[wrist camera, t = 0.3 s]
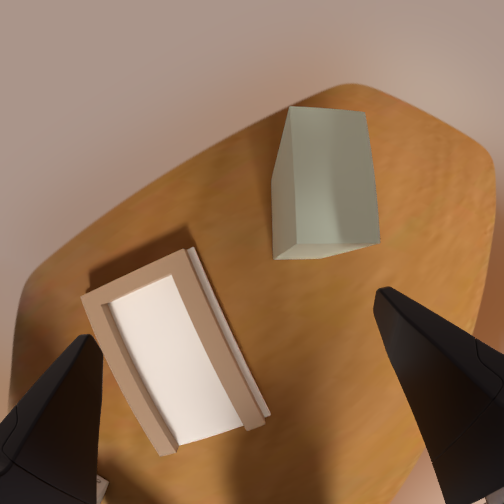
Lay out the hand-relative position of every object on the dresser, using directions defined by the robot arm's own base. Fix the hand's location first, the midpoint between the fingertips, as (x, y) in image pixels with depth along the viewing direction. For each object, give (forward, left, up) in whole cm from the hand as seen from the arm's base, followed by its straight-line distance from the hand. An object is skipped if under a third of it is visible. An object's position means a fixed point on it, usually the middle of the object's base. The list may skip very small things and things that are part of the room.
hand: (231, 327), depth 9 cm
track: (0, +7, -14) cm, 15 cm away
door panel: (+1, -7, -14) cm, 15 cm away
